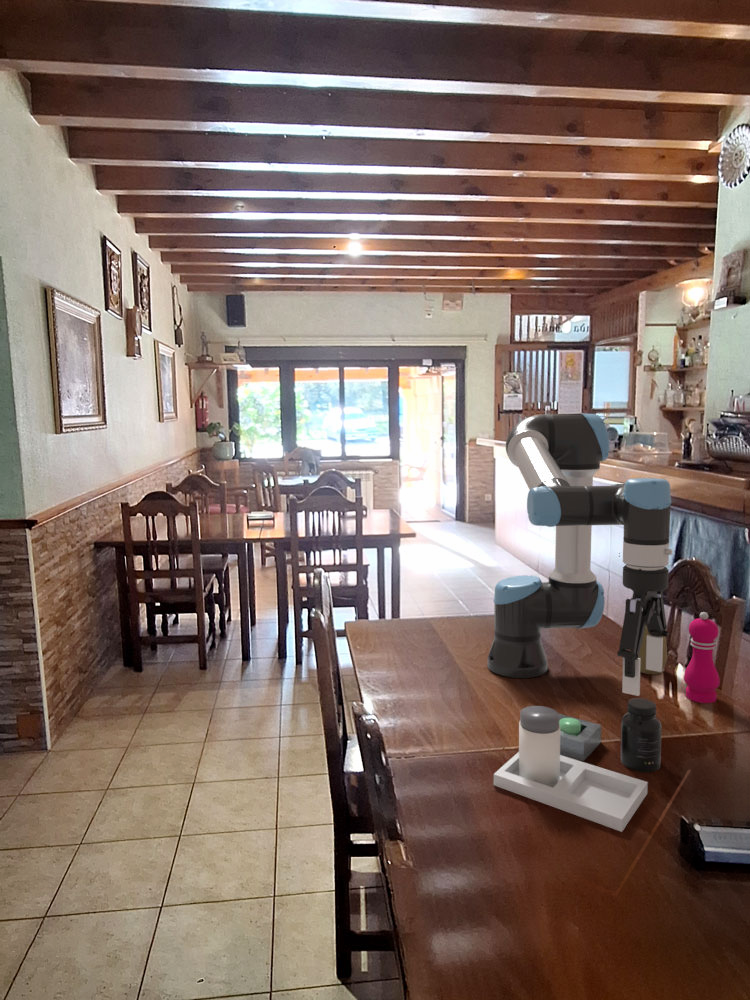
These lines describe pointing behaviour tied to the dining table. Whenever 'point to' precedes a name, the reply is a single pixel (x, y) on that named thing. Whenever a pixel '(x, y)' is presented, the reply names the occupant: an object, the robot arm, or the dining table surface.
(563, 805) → the tray
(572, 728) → the button
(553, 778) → the lidded jar
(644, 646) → the squeeze bottle
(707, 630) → the pepper mill
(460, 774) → the dining table surface
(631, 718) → the supplement bottle
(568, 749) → the grey button base
